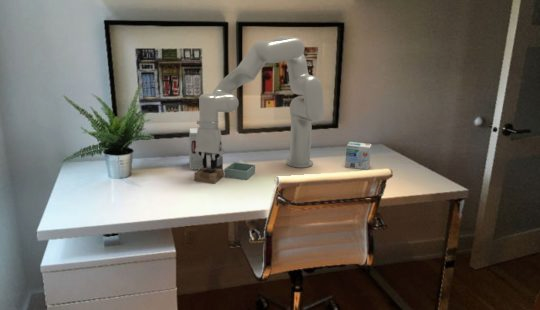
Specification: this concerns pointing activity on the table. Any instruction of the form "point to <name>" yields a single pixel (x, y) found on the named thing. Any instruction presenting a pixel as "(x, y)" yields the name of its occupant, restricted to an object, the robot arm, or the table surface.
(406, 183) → the table surface
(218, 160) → the grey cylinder
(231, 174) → the tray
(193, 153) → the supplement box
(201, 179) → the brown square open box
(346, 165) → the light bulb box
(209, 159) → the pin
